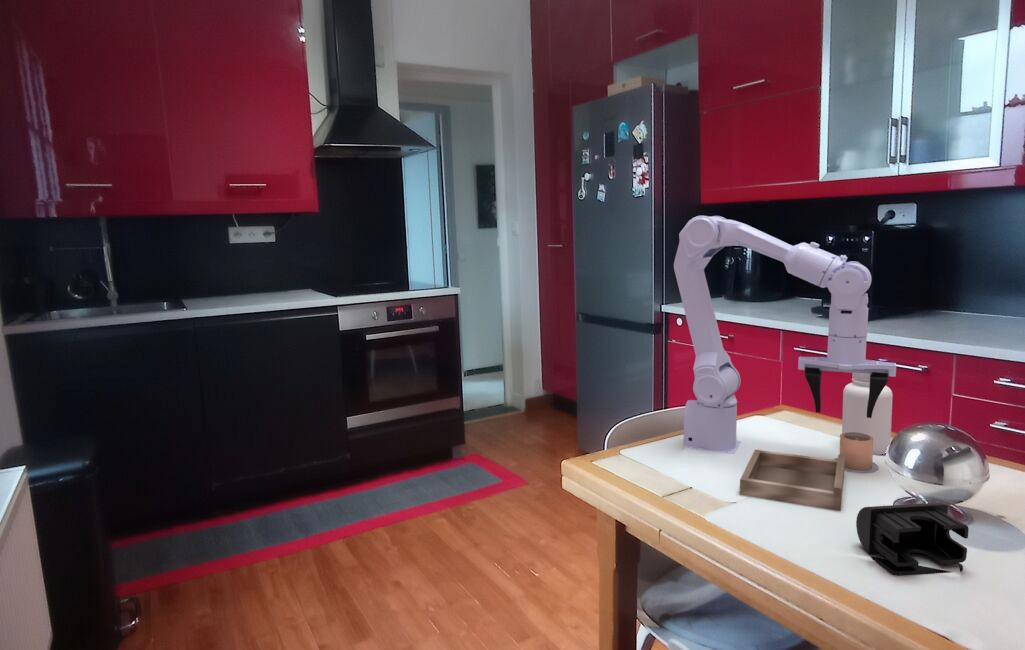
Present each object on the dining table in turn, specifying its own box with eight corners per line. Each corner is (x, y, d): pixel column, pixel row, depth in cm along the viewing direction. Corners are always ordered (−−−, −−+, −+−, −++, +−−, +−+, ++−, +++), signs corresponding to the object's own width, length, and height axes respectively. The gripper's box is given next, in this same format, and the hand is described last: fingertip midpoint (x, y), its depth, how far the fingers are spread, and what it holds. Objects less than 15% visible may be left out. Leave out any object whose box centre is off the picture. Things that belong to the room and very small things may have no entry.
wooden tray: (739, 497, 99) (740, 473, 98) (754, 465, 111) (755, 444, 111) (840, 514, 92) (841, 488, 91) (843, 478, 105) (844, 455, 104)
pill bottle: (877, 442, 121) (881, 365, 119) (898, 456, 114) (902, 375, 111) (834, 442, 122) (837, 366, 120) (852, 456, 114) (855, 375, 112)
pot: (836, 466, 108) (837, 437, 107) (842, 458, 112) (843, 429, 111) (869, 472, 105) (871, 442, 104) (874, 463, 109) (875, 434, 108)
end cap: (927, 543, 83) (930, 494, 82) (969, 571, 76) (973, 518, 75) (853, 548, 82) (856, 499, 81) (889, 577, 75) (892, 523, 74)
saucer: (831, 472, 107) (831, 467, 107) (833, 459, 113) (833, 454, 113) (878, 478, 104) (878, 474, 104) (878, 464, 110) (878, 460, 110)
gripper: (797, 336, 106) (794, 414, 108) (899, 341, 99) (893, 425, 101) (801, 330, 112) (798, 404, 114) (897, 334, 105) (891, 413, 107)
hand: (843, 413), depth 108 cm, fingers open, 7 cm apart
